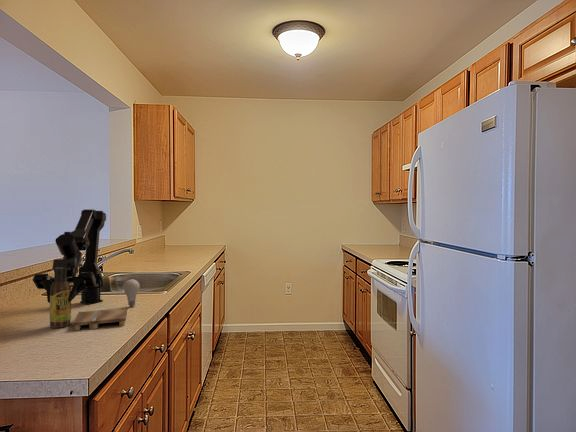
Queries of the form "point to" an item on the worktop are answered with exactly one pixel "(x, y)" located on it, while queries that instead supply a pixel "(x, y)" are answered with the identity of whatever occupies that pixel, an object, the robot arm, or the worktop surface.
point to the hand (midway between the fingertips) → (59, 301)
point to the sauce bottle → (60, 299)
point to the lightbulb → (131, 291)
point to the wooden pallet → (100, 318)
